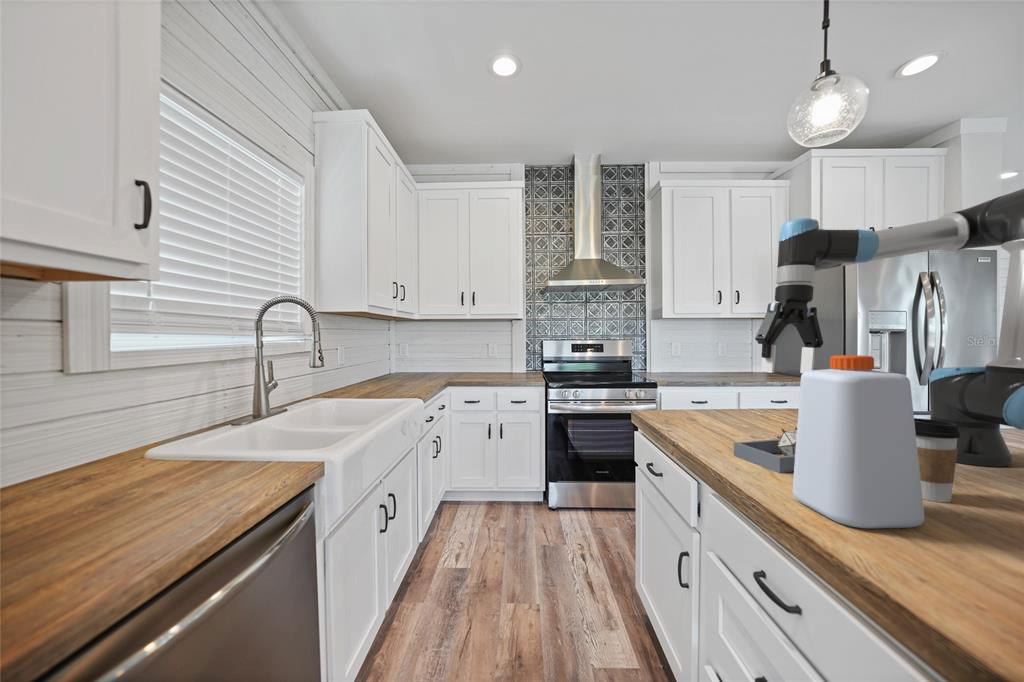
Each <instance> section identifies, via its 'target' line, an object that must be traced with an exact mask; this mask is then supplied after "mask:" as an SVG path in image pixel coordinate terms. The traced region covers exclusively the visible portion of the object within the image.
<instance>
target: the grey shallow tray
mask: <svg viewBox="0 0 1024 682" xmlns="http://www.w3.org/2000/svg"><path fill="white" fill-rule="evenodd" d="M778 442H779V439H778V438H777V439H775V438H774V439H762V440H749V441H739V442H736V441H734V442H733V456H734V457H737V458H738V459H742V460H744V461H746V462H749V463H752V464H755V465H757V466H760V467H761V468H763V467H764V468H765V469H768V470H770V471H774V472H776V473H778V474H782V473H784V472H785V473H792V471H794V464H795V455H789V456H783V455H781V456H780V455H777V454H782V453H781V452H782V451H781V450H780V449H779V448H774V447H775V446H778ZM772 453H775V454H772Z"/></svg>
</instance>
